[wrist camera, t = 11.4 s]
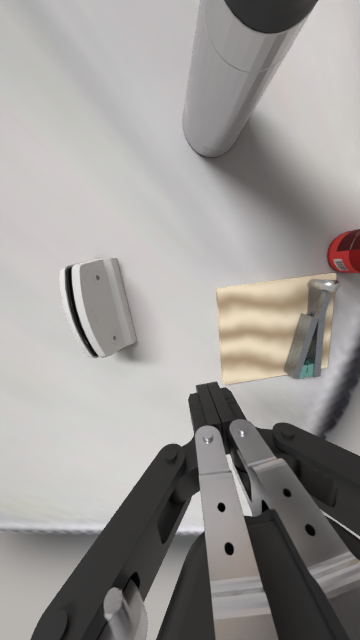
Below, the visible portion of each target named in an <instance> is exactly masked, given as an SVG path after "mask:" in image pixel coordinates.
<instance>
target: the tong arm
mask: <svg viewBox="0 0 360 640" xmlns="http://www.w3.org/2000/svg"><path fill="white" fill-rule="evenodd" d="M331 296H332V294H327V293H321V296H320V299H319V302H318V305H317V308H316V311H315V315H314V316H312V315H309V314H303V313H301V315H300V318H299V322H298V325H297V328H296V331H295V335H294V338H293V341H292V345H291V348H290V351H289V354H288V358H287V361H286V364H285V367H284V371H285V372H286V373H287V374H288V375H289V376H291V377H292V378H297V379H299V378H303V379H304V376H305V373H306V371H307V368H308V365H307V364H305V363H304V361H305V358H306V355H307V352H308V349H309V346H310V343H311V340H312V337H313V334H314V331H315V328H316V325H317V322H318V319H324V317H325V314H326V311H327V308H328V305H329V302H330V299H331Z"/></svg>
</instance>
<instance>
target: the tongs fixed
mask: <svg viewBox="0 0 360 640" xmlns="http://www.w3.org/2000/svg"><path fill="white" fill-rule="evenodd" d="M307 286H308V288H309V290H308V306H307V314H309V315H312V316H314V315H315V311H316V308H317V305H318V302H319V299H320V296H321V293H327V294H328V291H330V292H335V291H337V290H338V289H339V287H340V283H339V281H337V280H326V279H310V280H309V281H308V284H307ZM325 317H326V314H325ZM325 317H324V319H318V322H317V325H316V328H315V331H314V334H313V337H312V340H311V343H310V346H309V349H308V352H307V355H306V358H305V361H304V363H305V364H307V365H308V368H307V371H306V373H305V376H306V377H307V378H308V377H317V376H320V373H321V362H322V351H323V339H324V328H325Z"/></svg>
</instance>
